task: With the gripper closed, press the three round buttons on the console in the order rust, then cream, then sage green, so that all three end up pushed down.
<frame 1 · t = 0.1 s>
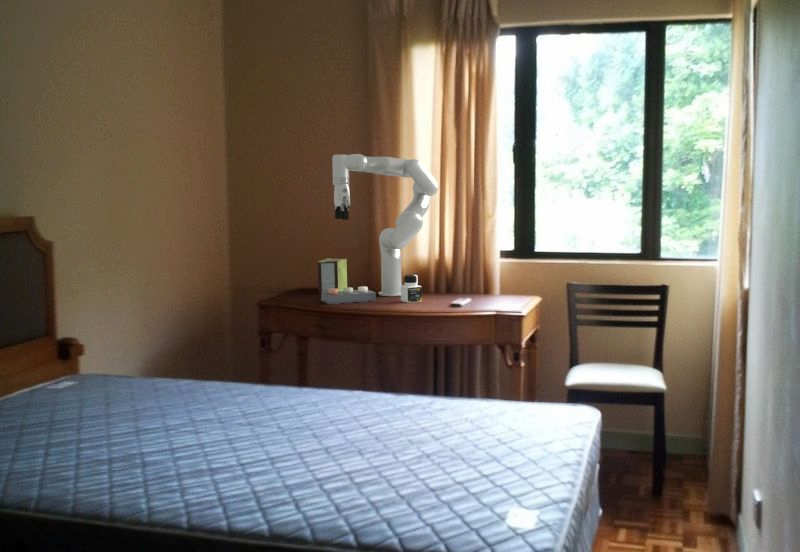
hand: (341, 219, 398), 37 cm above the table, tool pointing down, fingers open, 9 cm apart
sage button: (348, 291, 393), point 4 cm above the table, slide at 0.0 cm
protein box: (332, 291, 428), on the table
medicine bottle: (411, 301, 390), on the table
console: (348, 301, 393), on the table
cream button: (362, 290, 395), point 4 cm above the table, slide at 0.0 cm
rust button: (333, 292, 390), point 4 cm above the table, slide at 0.0 cm
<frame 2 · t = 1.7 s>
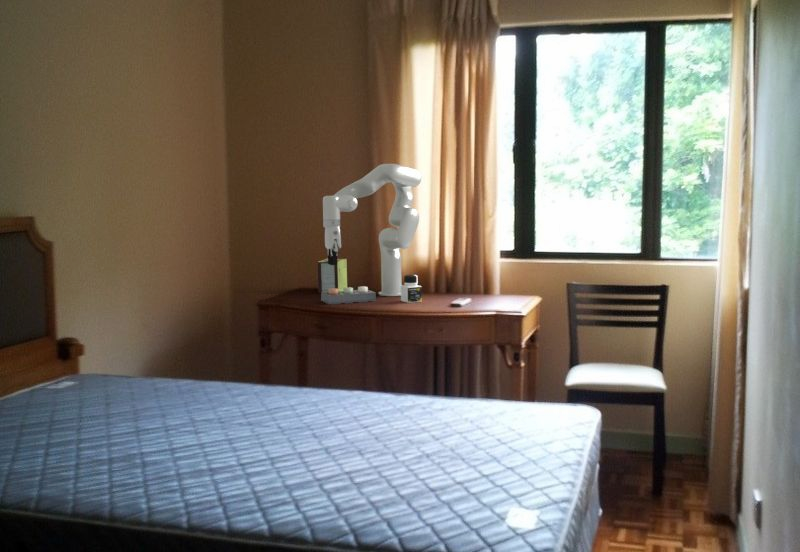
hand: (332, 264, 389), 17 cm above the table, tool pointing down, fingers closed
nothing on the table moved.
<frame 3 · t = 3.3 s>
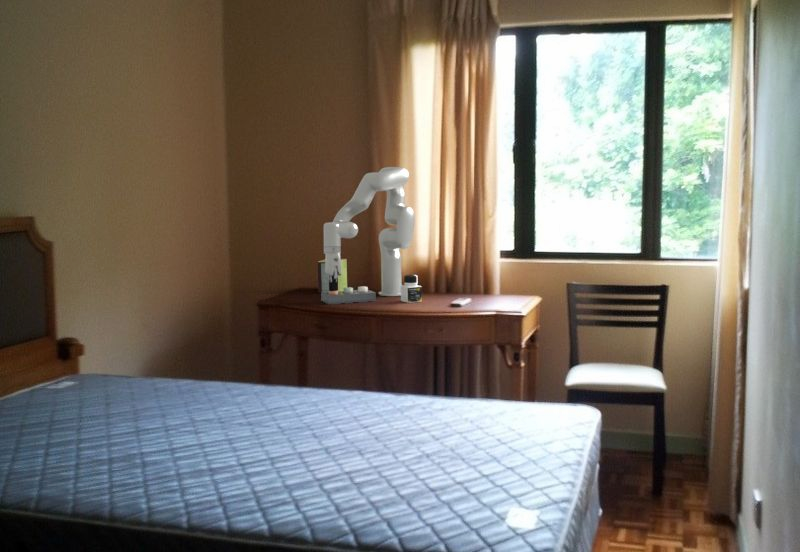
hand: (332, 290, 390), 5 cm above the table, tool pointing down, fingers closed
rust button: (333, 294, 390), point 4 cm above the table, slide at 0.8 cm, touching gripper
everything else where it was.
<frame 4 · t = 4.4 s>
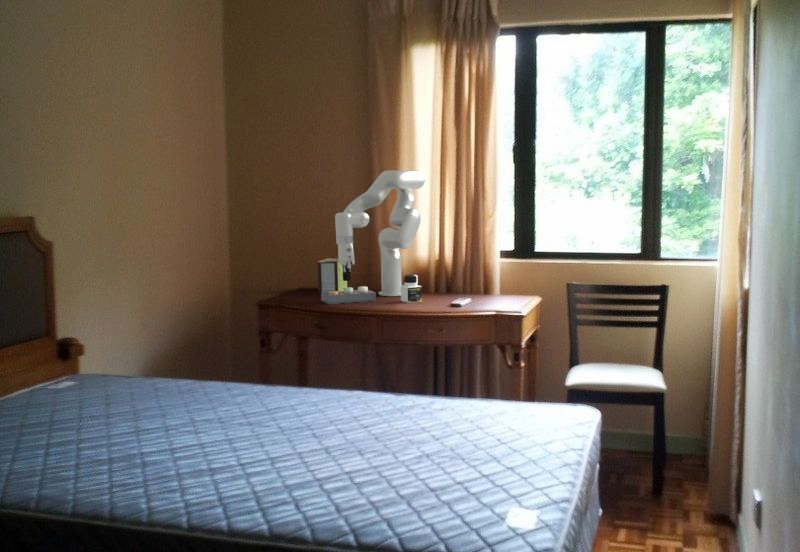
hand: (346, 280, 392), 9 cm above the table, tool pointing down, fingers closed
rust button: (333, 295, 390), point 3 cm above the table, slide at 1.2 cm
everything else where it was.
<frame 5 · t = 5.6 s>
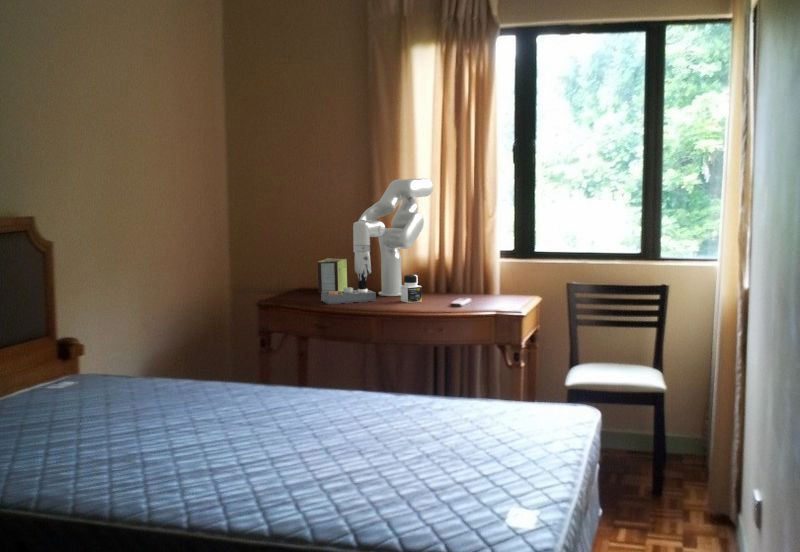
hand: (362, 289, 395), 5 cm above the table, tool pointing down, fingers closed
cream button: (362, 292, 395), point 3 cm above the table, slide at 0.9 cm, touching gripper
everything else where it was.
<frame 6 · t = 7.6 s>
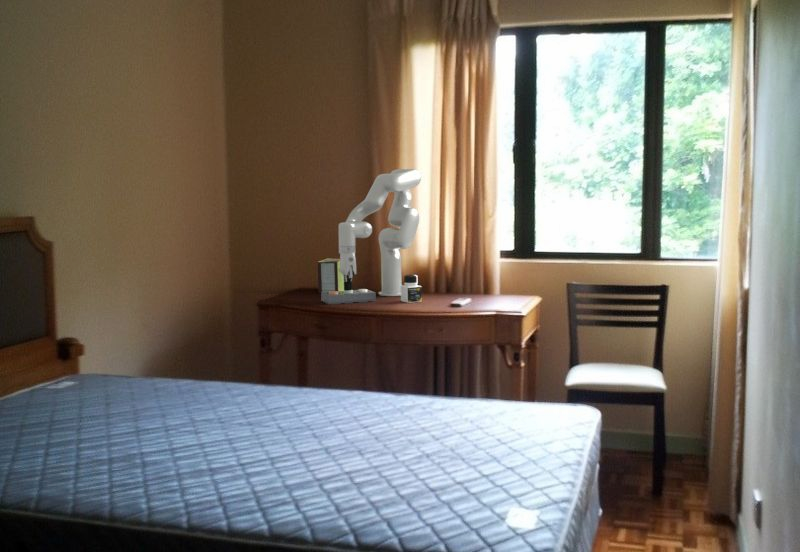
hand: (347, 290, 392), 5 cm above the table, tool pointing down, fingers closed
sage button: (348, 293, 393), point 3 cm above the table, slide at 1.0 cm, touching gripper
cream button: (362, 293, 395), point 3 cm above the table, slide at 1.2 cm
everything else where it was.
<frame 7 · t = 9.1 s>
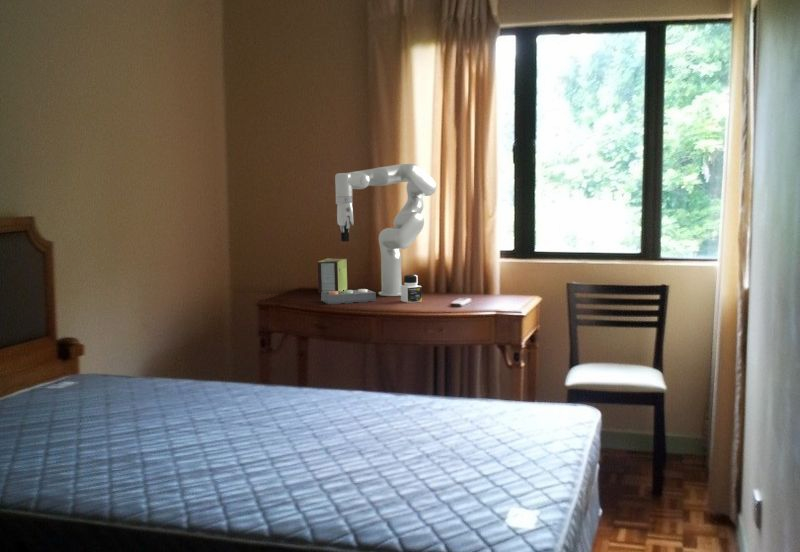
hand: (345, 241, 393), 27 cm above the table, tool pointing down, fingers closed
sage button: (348, 294, 393), point 3 cm above the table, slide at 1.2 cm
everything else where it was.
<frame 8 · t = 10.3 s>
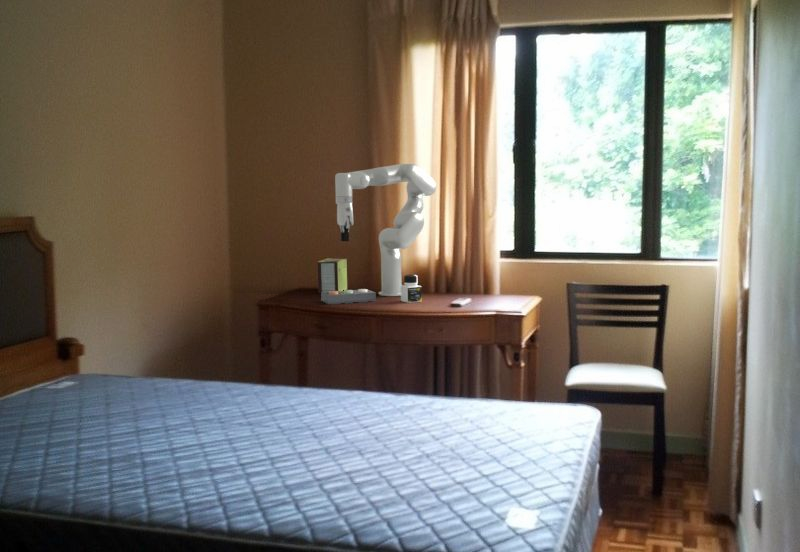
hand: (345, 241, 393), 27 cm above the table, tool pointing down, fingers closed
nothing on the table moved.
at the end: rust button slide at 1.2 cm; cream button slide at 1.2 cm; sage button slide at 1.2 cm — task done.
